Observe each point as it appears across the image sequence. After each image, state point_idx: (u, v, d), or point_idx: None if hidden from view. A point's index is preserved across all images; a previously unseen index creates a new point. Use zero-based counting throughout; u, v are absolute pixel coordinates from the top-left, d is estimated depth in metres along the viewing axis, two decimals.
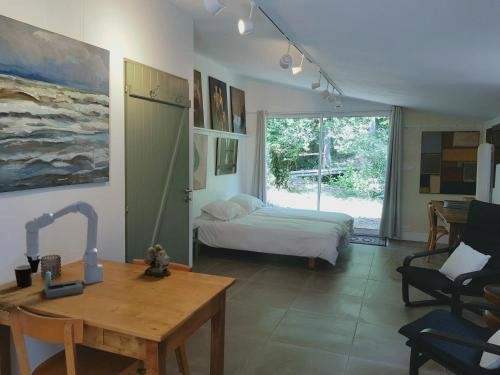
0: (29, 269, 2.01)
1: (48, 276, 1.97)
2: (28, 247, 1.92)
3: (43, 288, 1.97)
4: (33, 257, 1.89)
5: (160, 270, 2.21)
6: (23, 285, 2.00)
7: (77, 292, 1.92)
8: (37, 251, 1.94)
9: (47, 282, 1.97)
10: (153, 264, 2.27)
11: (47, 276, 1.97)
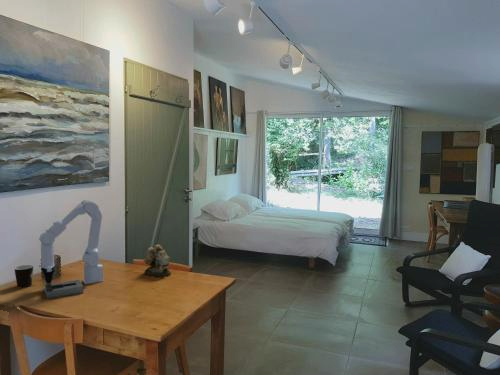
0: (29, 269, 2.01)
1: None
2: (43, 259, 1.95)
3: (43, 288, 1.97)
4: (48, 269, 1.91)
5: (160, 270, 2.21)
6: (23, 285, 2.00)
7: (77, 292, 1.92)
8: (52, 263, 1.96)
9: None
10: (153, 264, 2.27)
11: None
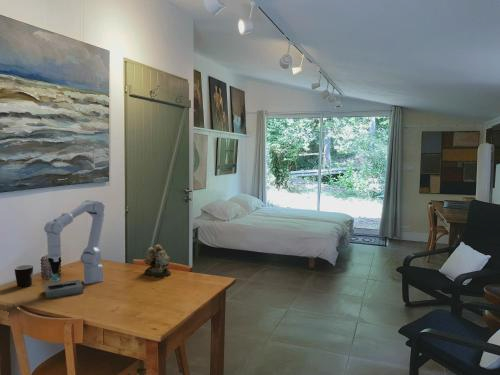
0: (29, 269, 2.01)
1: None
2: (49, 248, 1.88)
3: (49, 279, 1.91)
4: (55, 259, 1.85)
5: (160, 270, 2.21)
6: (23, 285, 2.00)
7: (77, 292, 1.92)
8: (58, 252, 1.90)
9: None
10: (153, 264, 2.27)
11: None
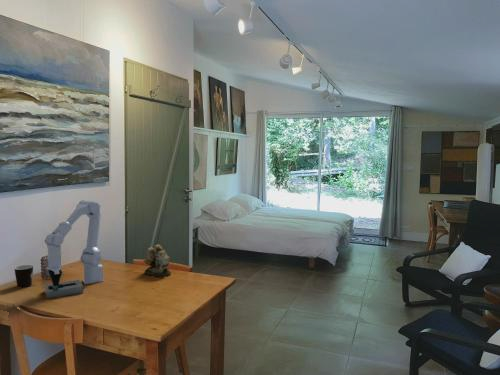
0: (29, 269, 2.01)
1: None
2: (50, 261, 1.88)
3: None
4: (55, 271, 1.85)
5: (160, 270, 2.21)
6: (23, 285, 2.00)
7: (77, 292, 1.92)
8: (59, 265, 1.90)
9: None
10: (153, 264, 2.27)
11: None
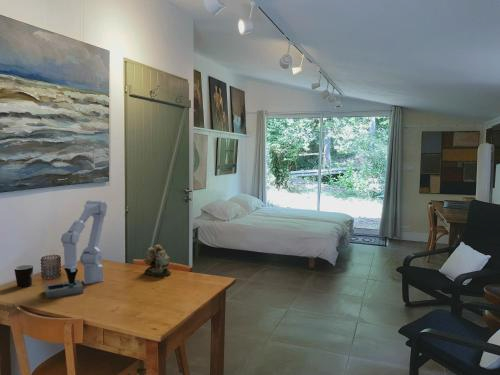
0: (29, 269, 2.01)
1: None
2: (66, 259, 1.92)
3: None
4: (72, 269, 1.89)
5: (160, 270, 2.21)
6: (23, 285, 2.00)
7: (77, 292, 1.92)
8: (75, 263, 1.94)
9: None
10: (153, 264, 2.27)
11: None
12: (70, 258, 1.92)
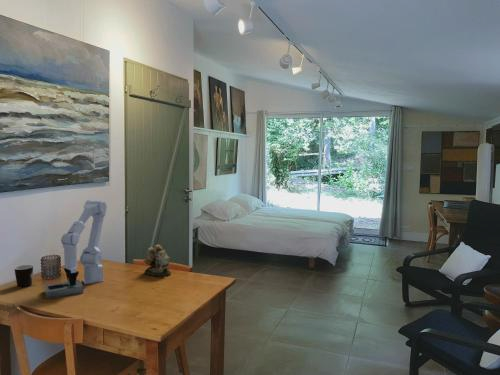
0: (29, 269, 2.01)
1: None
2: (66, 260, 1.92)
3: None
4: (72, 270, 1.89)
5: (160, 270, 2.21)
6: (23, 285, 2.00)
7: (77, 292, 1.92)
8: (75, 264, 1.94)
9: None
10: (153, 264, 2.27)
11: None
12: (70, 259, 1.92)
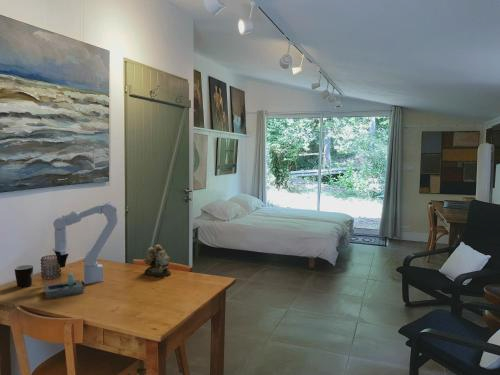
0: (29, 269, 2.01)
1: (71, 278, 1.94)
2: (56, 242, 2.03)
3: None
4: (62, 252, 2.00)
5: (160, 270, 2.21)
6: (23, 285, 2.00)
7: (77, 292, 1.92)
8: (65, 246, 2.05)
9: (70, 284, 1.95)
10: (153, 264, 2.27)
11: (70, 278, 1.94)
12: (60, 242, 2.03)
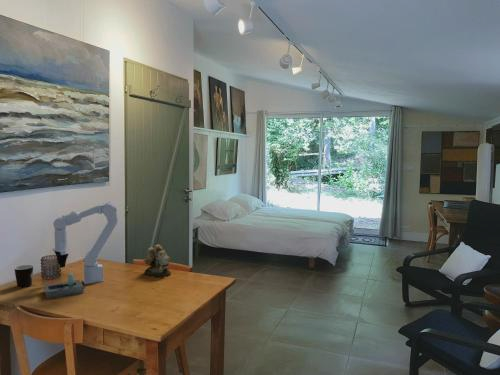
0: (29, 269, 2.01)
1: (71, 278, 1.94)
2: (56, 242, 2.03)
3: None
4: (62, 252, 2.00)
5: (160, 270, 2.21)
6: (23, 285, 2.00)
7: (77, 292, 1.92)
8: (65, 246, 2.05)
9: (70, 284, 1.95)
10: (153, 264, 2.27)
11: (70, 278, 1.94)
12: (60, 242, 2.03)
